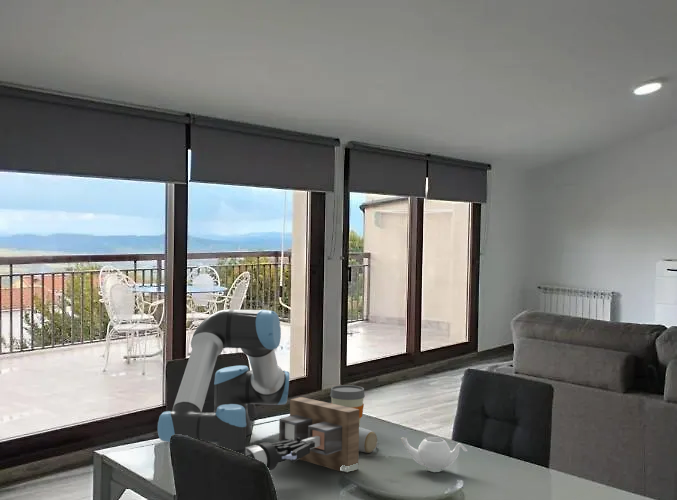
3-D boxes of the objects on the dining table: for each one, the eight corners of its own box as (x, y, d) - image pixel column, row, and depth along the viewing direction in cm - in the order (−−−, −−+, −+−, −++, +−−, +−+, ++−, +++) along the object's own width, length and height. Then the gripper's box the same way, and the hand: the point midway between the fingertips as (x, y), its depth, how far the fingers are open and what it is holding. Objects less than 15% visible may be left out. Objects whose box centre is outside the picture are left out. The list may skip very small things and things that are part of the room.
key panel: (273, 461, 212) (274, 403, 212) (300, 452, 221) (301, 397, 221) (332, 479, 196) (333, 416, 196) (358, 469, 205) (359, 409, 205)
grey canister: (365, 456, 219) (366, 432, 219) (345, 451, 223) (345, 427, 224) (383, 449, 227) (384, 426, 227) (363, 444, 232) (364, 421, 232)
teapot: (468, 477, 200) (468, 446, 200) (399, 473, 203) (399, 441, 203) (467, 467, 209) (467, 436, 209) (401, 463, 212) (401, 433, 212)
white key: (284, 438, 210) (285, 422, 210) (293, 435, 214) (294, 419, 214) (296, 441, 207) (296, 425, 207) (305, 438, 210) (305, 422, 210)
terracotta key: (312, 446, 202) (312, 429, 202) (321, 443, 205) (321, 427, 205) (324, 450, 199) (325, 433, 199) (333, 447, 202) (334, 430, 202)
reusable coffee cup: (332, 424, 257) (333, 384, 257) (365, 426, 255) (366, 385, 255) (327, 433, 245) (327, 391, 244) (362, 435, 243) (362, 392, 243)
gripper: (242, 467, 187) (302, 449, 205) (275, 478, 178) (335, 458, 196) (242, 440, 187) (302, 423, 205) (276, 449, 178) (335, 432, 196)
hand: (318, 440), depth 200 cm, fingers closed
